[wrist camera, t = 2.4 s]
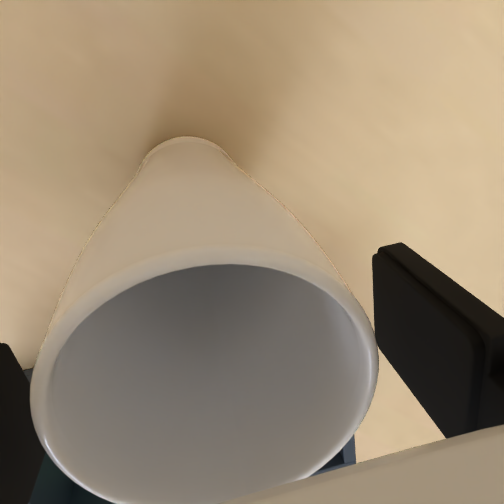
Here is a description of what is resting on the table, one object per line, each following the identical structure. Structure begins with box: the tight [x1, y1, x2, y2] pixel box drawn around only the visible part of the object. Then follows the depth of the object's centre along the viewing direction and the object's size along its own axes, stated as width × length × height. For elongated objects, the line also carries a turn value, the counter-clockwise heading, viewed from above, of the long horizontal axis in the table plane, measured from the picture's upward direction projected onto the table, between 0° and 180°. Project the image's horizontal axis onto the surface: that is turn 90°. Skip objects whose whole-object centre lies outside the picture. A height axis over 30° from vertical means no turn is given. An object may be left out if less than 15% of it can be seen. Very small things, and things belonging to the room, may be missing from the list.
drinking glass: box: [30, 136, 379, 504], centre depth 14 cm, size 7×7×15 cm
